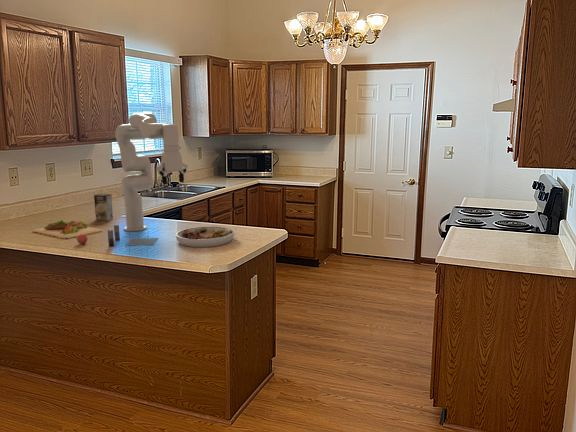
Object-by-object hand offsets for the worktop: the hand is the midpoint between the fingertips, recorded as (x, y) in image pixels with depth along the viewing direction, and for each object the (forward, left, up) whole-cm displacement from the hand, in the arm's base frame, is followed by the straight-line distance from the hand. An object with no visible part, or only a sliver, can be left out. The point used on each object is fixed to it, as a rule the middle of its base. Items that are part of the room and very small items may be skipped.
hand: (173, 183), depth 251 cm
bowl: (0, +15, -32) cm, 35 cm away
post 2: (-8, -32, -31) cm, 45 cm away
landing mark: (-2, -18, -31) cm, 36 cm away
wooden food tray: (-33, -66, -32) cm, 81 cm away
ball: (-2, -48, -28) cm, 56 cm away
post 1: (+4, -32, -31) cm, 45 cm away
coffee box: (-66, -54, -31) cm, 91 cm away
